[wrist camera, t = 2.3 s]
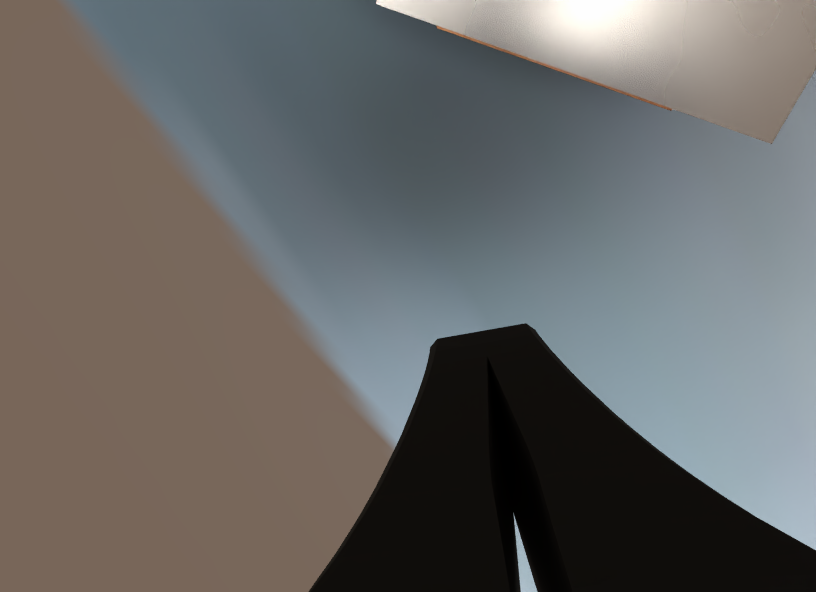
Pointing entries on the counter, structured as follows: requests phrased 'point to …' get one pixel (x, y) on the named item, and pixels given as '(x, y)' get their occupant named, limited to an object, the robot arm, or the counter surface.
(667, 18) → the block
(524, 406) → the robot arm
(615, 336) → the counter surface
